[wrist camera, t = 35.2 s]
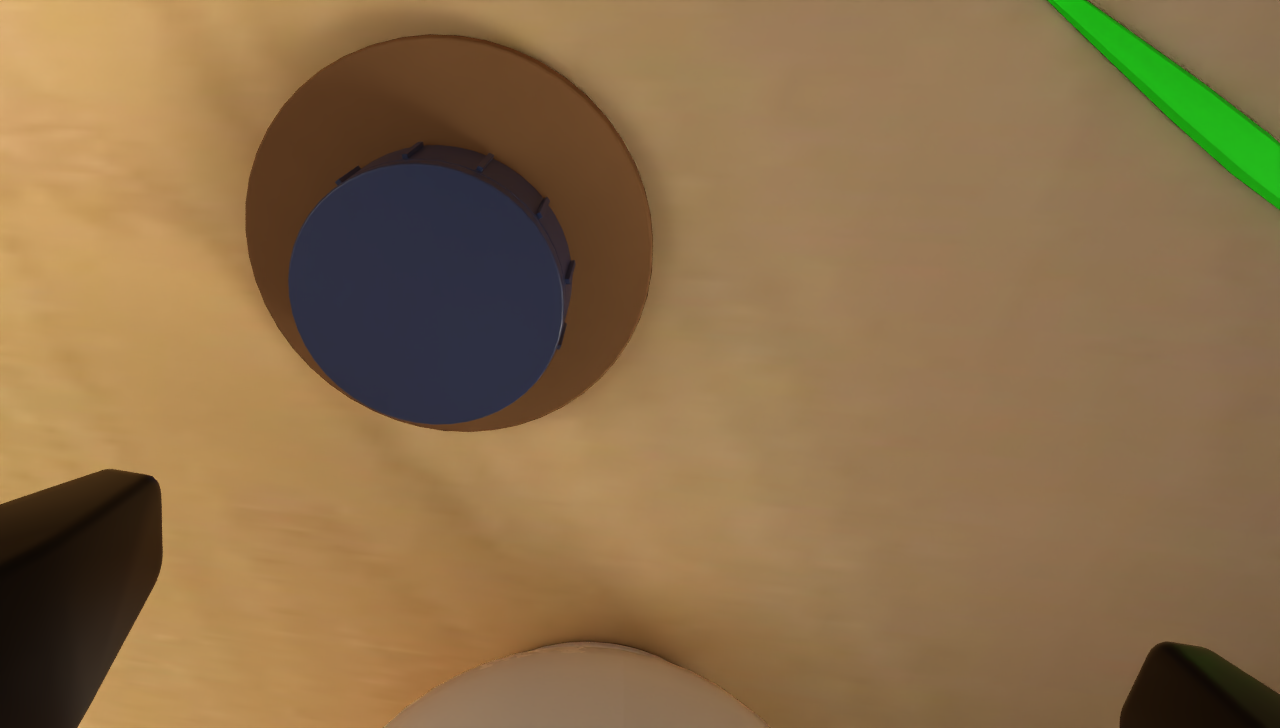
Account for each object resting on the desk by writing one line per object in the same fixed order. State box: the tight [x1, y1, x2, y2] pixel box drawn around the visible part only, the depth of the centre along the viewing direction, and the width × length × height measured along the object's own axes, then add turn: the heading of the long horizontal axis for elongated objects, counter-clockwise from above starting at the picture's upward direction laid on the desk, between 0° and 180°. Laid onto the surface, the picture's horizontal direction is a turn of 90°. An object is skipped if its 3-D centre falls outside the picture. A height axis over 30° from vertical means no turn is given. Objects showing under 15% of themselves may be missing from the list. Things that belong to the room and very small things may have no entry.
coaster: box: [246, 34, 653, 432], centre depth 19 cm, size 8×8×1 cm
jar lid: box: [288, 142, 576, 425], centre depth 18 cm, size 5×5×2 cm
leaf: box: [1048, 0, 1280, 210], centre depth 18 cm, size 1×14×1 cm, turn 55°
